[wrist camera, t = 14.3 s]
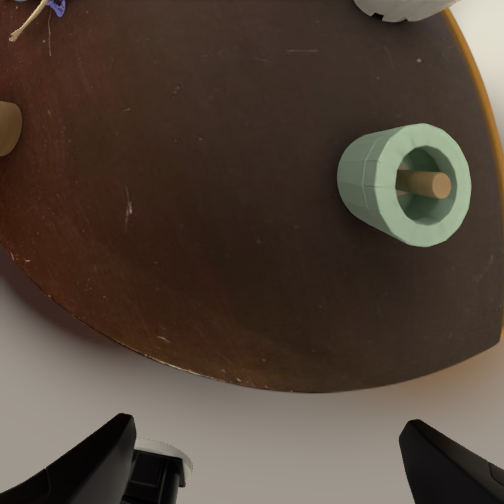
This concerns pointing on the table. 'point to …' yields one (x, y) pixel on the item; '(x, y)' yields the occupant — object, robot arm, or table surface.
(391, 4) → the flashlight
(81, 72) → the table surface
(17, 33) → the fairy figurine
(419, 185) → the stepped wooden peg
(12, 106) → the post
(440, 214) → the mint green tube
